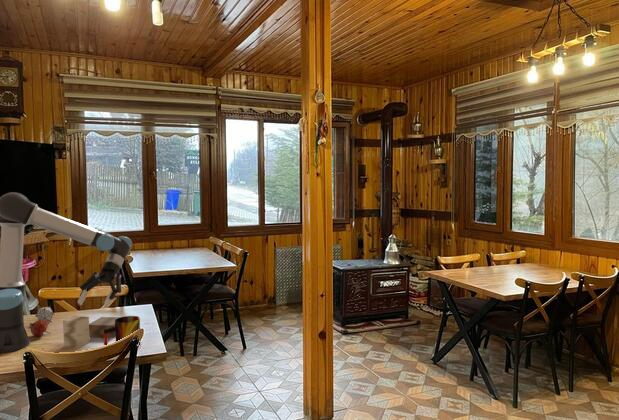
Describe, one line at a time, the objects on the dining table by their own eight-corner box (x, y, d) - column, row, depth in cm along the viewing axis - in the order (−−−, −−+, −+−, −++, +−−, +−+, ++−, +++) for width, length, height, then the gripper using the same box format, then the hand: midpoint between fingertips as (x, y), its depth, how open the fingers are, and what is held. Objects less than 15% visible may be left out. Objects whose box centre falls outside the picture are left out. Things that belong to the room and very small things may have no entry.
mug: (103, 354, 186) (102, 324, 185) (125, 342, 199) (124, 315, 199) (124, 356, 184) (123, 326, 183) (145, 344, 197) (144, 316, 196)
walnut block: (88, 338, 206) (87, 324, 206) (102, 329, 218) (101, 316, 218) (113, 338, 205) (113, 325, 205) (126, 329, 217) (126, 317, 217)
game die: (47, 330, 227) (46, 317, 222) (31, 324, 227) (29, 311, 222) (59, 317, 235) (58, 304, 229) (43, 311, 235) (42, 298, 229)
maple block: (63, 346, 195) (62, 320, 195) (75, 340, 202) (74, 315, 201) (78, 347, 194) (77, 321, 193) (89, 341, 200) (88, 316, 200)
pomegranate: (45, 336, 214) (24, 327, 209) (55, 323, 215) (35, 313, 210) (45, 343, 207) (23, 333, 203) (56, 329, 209) (35, 319, 204)
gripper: (139, 270, 221) (121, 310, 207) (93, 268, 226) (73, 307, 213) (132, 261, 215) (113, 301, 202) (85, 259, 221) (64, 298, 207)
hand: (92, 304), depth 207 cm, fingers open, 13 cm apart
